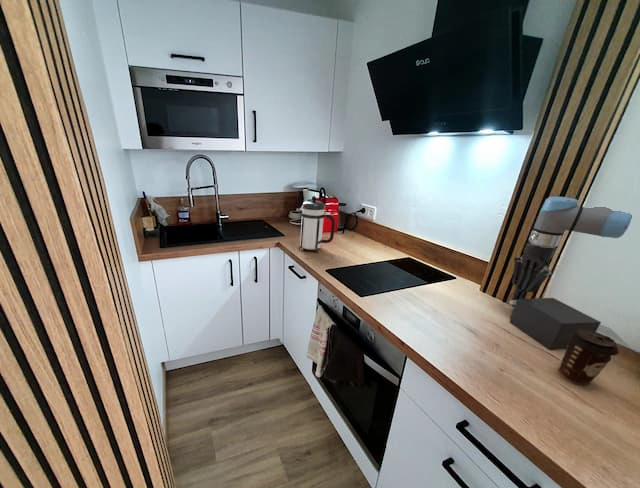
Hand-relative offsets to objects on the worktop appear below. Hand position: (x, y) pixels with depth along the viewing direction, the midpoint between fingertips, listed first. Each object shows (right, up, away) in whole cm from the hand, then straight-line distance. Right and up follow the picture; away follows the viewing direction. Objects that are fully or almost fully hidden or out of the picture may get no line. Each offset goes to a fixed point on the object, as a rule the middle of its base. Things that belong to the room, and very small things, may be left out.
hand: (515, 304), depth 105 cm
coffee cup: (-8, -16, -28) cm, 33 cm away
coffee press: (-68, +25, +60) cm, 94 cm away
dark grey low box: (+1, -8, -11) cm, 14 cm away
